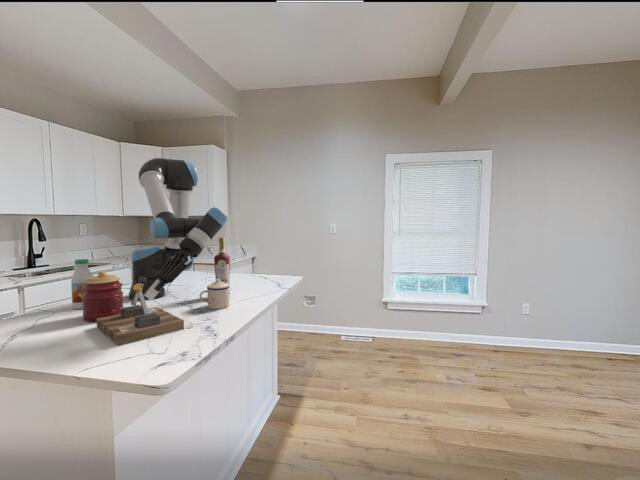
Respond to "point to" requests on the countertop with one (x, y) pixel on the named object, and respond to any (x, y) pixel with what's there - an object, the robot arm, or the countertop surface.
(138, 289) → the front lever
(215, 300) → the teacup with lid
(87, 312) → the canister
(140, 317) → the brown wooden base
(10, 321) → the countertop surface
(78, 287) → the milk bottle
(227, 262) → the liquor
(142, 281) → the rear lever
